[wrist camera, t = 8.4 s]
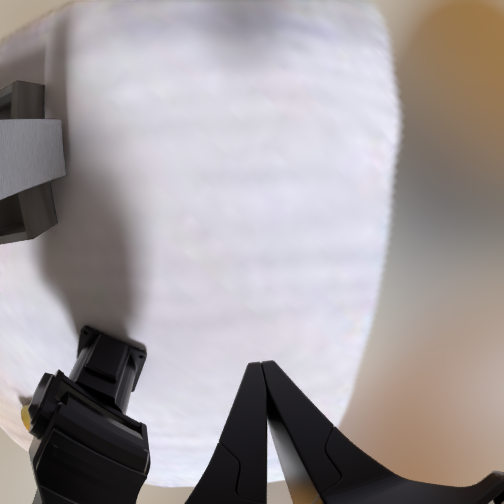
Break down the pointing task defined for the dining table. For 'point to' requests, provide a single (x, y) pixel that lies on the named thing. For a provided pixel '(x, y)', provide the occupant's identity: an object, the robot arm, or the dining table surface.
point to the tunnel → (37, 197)
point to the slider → (29, 153)
